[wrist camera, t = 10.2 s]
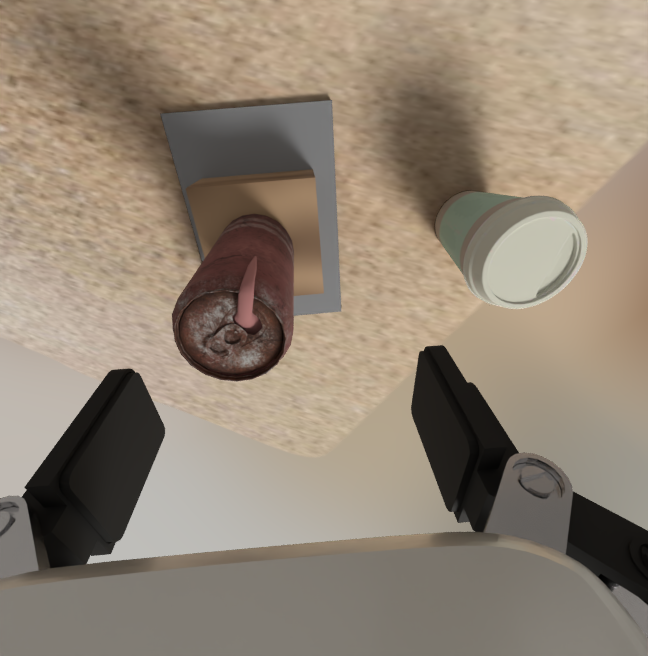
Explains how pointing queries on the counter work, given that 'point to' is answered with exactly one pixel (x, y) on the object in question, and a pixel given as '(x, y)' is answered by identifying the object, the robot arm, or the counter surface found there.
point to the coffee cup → (512, 245)
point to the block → (270, 200)
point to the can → (239, 302)
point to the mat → (265, 165)
